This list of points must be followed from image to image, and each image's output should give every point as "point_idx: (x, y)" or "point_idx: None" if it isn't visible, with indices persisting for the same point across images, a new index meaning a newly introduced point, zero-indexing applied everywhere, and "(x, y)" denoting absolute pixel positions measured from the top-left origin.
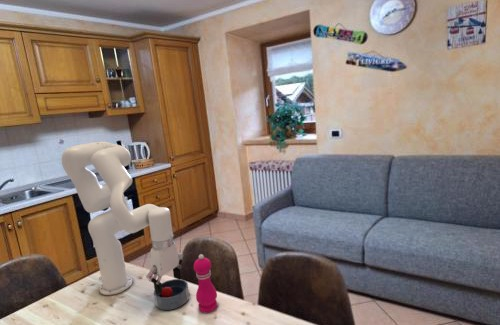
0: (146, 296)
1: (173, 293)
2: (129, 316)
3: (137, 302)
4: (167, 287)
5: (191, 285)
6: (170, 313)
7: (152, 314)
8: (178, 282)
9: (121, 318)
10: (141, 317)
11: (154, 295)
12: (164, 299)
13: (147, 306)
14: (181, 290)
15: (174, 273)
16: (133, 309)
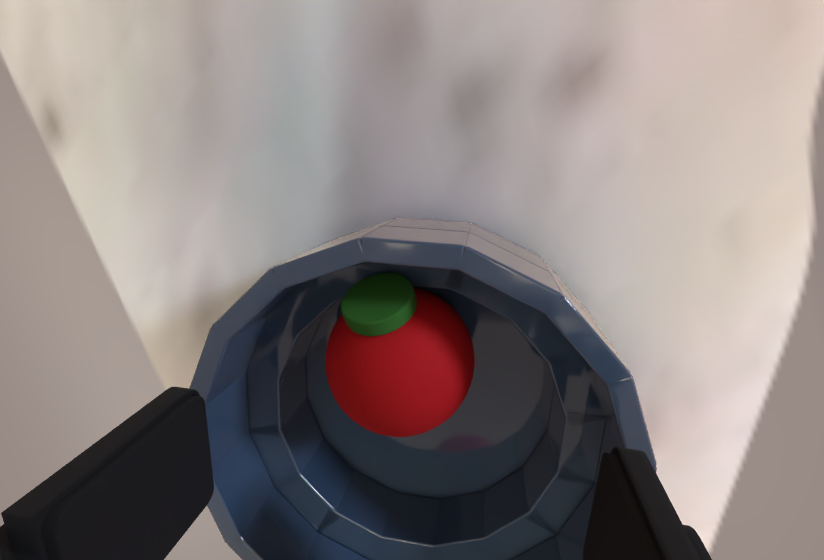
0: (383, 23)
1: (509, 339)
2: (90, 133)
3: (259, 13)
4: (406, 406)
5: (733, 421)
6: None
7: (205, 326)
8: (613, 428)
9: (38, 77)
10: (136, 258)
11: (210, 341)
12: (214, 501)
13: (259, 192)
14: (551, 437)
15: (626, 546)
16: (166, 79)
